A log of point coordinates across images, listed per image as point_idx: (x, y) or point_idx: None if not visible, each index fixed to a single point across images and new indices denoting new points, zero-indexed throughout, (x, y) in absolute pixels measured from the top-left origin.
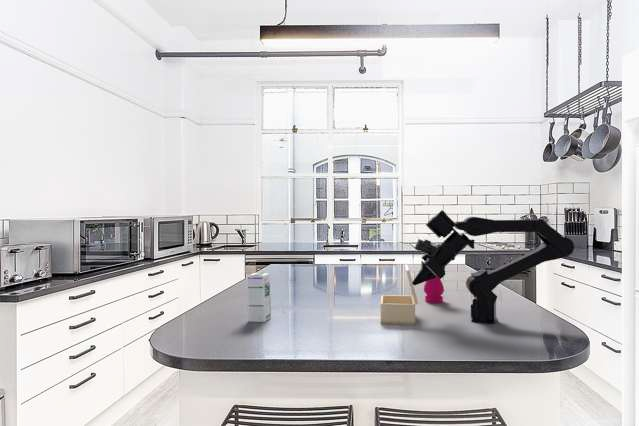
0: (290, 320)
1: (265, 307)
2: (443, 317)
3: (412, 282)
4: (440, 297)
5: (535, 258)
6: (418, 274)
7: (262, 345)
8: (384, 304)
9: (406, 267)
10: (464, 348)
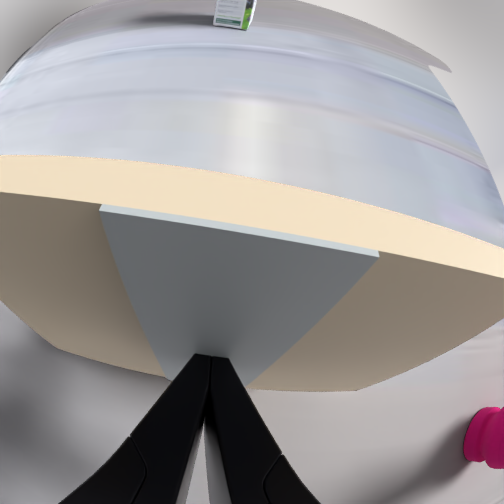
0: (223, 44)
1: (218, 3)
2: None
3: (196, 353)
4: (477, 458)
5: None
6: (134, 441)
7: (68, 43)
8: None
9: (245, 194)
10: None
